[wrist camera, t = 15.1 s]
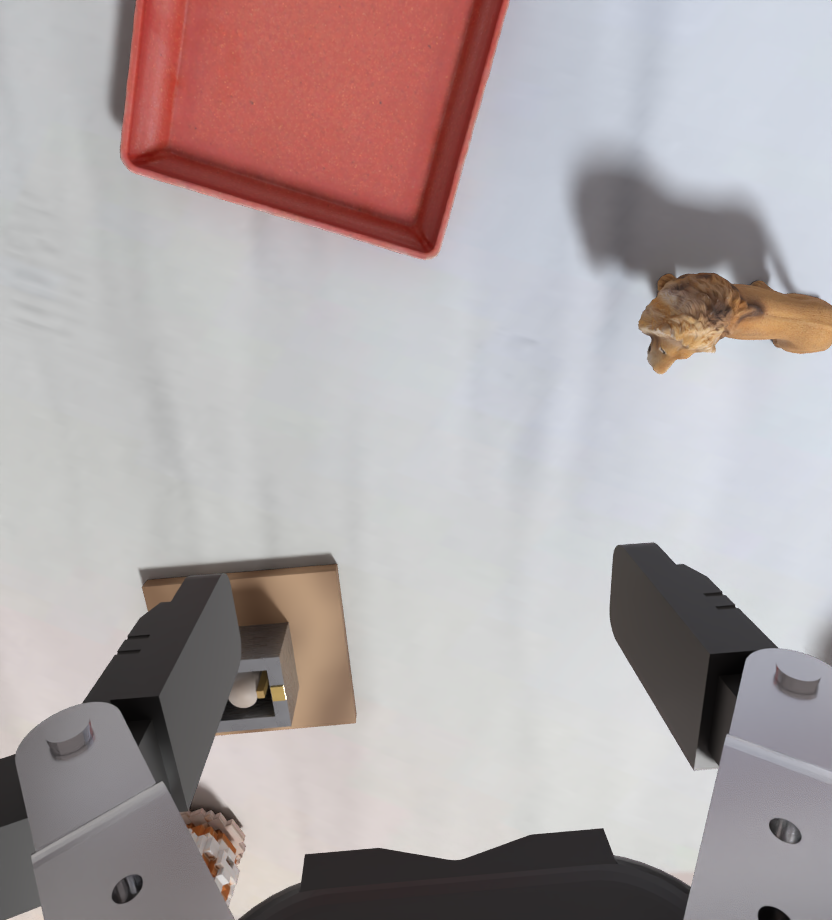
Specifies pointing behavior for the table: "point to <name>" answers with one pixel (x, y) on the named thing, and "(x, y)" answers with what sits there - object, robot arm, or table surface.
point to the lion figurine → (729, 318)
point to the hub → (275, 655)
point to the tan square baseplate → (312, 633)
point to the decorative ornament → (217, 846)
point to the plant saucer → (313, 107)
